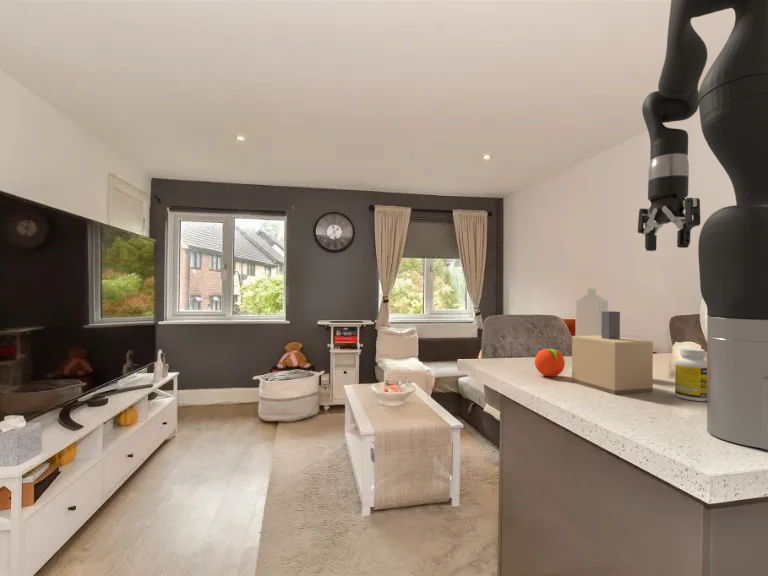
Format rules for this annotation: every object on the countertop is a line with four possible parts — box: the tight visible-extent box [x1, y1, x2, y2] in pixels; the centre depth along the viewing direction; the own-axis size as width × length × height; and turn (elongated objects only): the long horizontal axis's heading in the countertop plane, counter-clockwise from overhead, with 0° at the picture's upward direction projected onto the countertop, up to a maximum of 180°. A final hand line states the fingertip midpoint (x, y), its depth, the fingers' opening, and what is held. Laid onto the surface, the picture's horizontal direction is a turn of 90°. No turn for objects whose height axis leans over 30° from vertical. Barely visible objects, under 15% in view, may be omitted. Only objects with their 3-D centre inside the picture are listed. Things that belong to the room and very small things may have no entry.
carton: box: [571, 339, 654, 395], centre depth 89 cm, size 12×10×10 cm
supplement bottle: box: [674, 347, 707, 402], centre depth 80 cm, size 5×5×10 cm
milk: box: [575, 288, 609, 336], centre depth 106 cm, size 6×6×22 cm
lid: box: [572, 310, 654, 345], centre depth 89 cm, size 12×10×7 cm
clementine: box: [534, 347, 566, 378], centre depth 99 cm, size 8×7×7 cm
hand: (666, 249), depth 92 cm, fingers open, 8 cm apart
